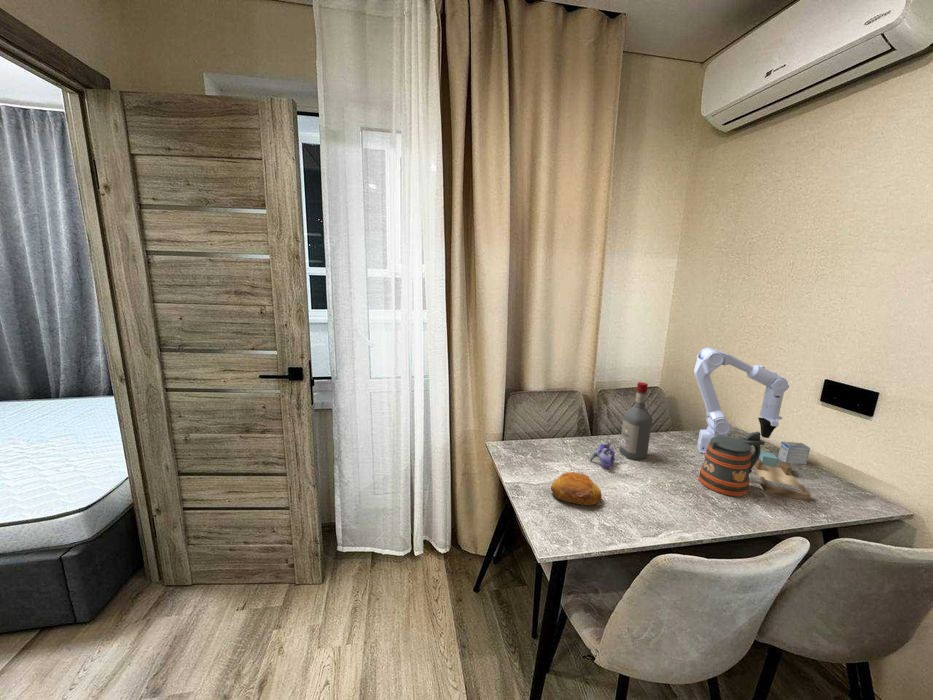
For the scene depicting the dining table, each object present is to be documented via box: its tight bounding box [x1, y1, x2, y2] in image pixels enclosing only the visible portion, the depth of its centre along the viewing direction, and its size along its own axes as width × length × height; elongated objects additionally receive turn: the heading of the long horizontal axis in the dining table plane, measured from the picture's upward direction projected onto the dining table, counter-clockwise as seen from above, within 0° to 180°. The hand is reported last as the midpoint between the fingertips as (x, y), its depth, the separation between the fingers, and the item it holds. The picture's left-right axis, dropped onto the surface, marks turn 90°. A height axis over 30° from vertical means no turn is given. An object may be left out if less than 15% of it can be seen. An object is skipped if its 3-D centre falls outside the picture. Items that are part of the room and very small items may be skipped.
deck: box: [752, 458, 812, 503], centre depth 141 cm, size 12×26×4 cm, turn 157°
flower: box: [589, 442, 616, 470], centre depth 146 cm, size 9×9×10 cm
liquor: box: [618, 381, 653, 461], centre depth 153 cm, size 9×9×30 cm
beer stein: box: [698, 431, 766, 497], centre depth 134 cm, size 19×15×20 cm
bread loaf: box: [550, 471, 603, 506], centre depth 126 cm, size 14×16×8 cm
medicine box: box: [777, 441, 811, 465], centre depth 152 cm, size 8×4×9 cm, turn 84°
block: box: [759, 450, 779, 467], centre depth 150 cm, size 4×5×4 cm
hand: (764, 436), depth 155 cm, fingers closed
